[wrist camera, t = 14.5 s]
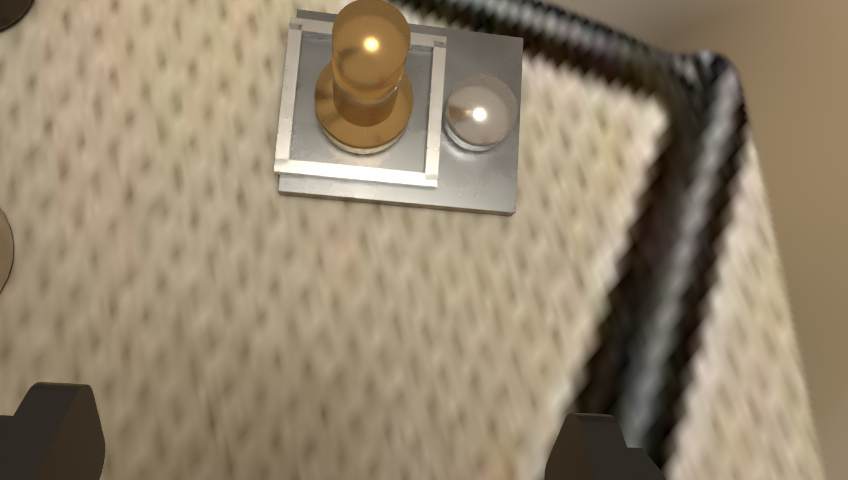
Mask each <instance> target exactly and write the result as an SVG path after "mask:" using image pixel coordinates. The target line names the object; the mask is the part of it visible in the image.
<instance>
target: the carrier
mask: <svg viewBox="0 0 848 480" xmlns="http://www.w3.org/2000/svg"><path fill="white" fill-rule="evenodd" d="M337 15H338V14H330V13H322V12H314V11H306V10H298V9H297V17H296V18H293V17H290V23H289V32H288V42H287V51H286V61H285V70H284V79H283V89H282V98H281V108H280V117H279V126H278V136H277V145H276V154H275V164H274V173H275V174H277V175H280V179H279V189H278V191H279V193H280V195H287V196H298V197H309V198H320V199H330V200H341V201H352V202H363V203H374V204H385V205H395V206H406V207H417V208H428V209H439V210H450V211H461V212H471V213H482V214H493V215H504V216H512V215H513V214H514V213H516V192H517V169H518V146H519V123H520V100H521V77H522V54H523V38H518V37H510V36H502V35H494V34H487V33H479V32H471V31H463V30H455V29H447V28H440V27H432V26H424V25H416V24H408V25H409V28H410V33H411V42H410V47H409V51H408V55H407V59H406V63H405V67H404V72H405V73H406V75H407V76H408V78H409V80H410V83H411V86H412V89H413V109H412V112H411V116H410V119H409V122H408V124H407V127H406V129H405V131H404V133H403V134H402V136H401V137H400V138H399V139H398V140H397V141H396V142H395V143H394V144H393V145H391V146H390V147H388V148H386V149H385V150H382V151H379V152H376V153H371V154H358V153H352V152H349V151H346V150H344V149H342V148H340V147H338V146H337V145H335V144H334V143H333V142H331V141H330V140H329V139H328V138H327V137H326V135H325V134H324V133H323V131H322V129H321V128H320V126H319V123H318V121H317V117H316V110H315V99H314V93H315V86H316V82H317V79H318V77H319V75H320V73H321V71H322V70H323V68H324V67H325V66H326V65H327V64H328V63H329V62H330V61H331V60H332V28H333V24H334V21H335V19H336V17H337Z"/></svg>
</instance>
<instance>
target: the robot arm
mask: <svg viewBox="0 0 848 480" xmlns="http://www.w3.org/2000/svg"><path fill="white" fill-rule="evenodd" d="M12 261H13V240H12V234H11V229H10V227H9V225H8V222H7V220H6V218H5V215H4V214H3V213H2V211H1V210H0V291H1V290H2V288H3V286H4V284H5V282H6V280H7V278H8V275H9V272H10V268H11V265H12ZM104 458H105V440H104V435H103V431H102V427H101V423H100V419H99V415H98V411H97V407H96V403H95V399H94V395H93V391H92V389H91V387H90V386H89V385H85V384H67V383H49V382H38V383H36V384H34V385H33V386H32V387H31V388H30V389H29V391H28V392H27V394H26V395H25V397H24V399H23V401H22V402H21V404H20V406H19V407H18V409H17V411H16V413H15V414H14V416H3V415H0V480H99V479H100V476H101V473H102V469H103V464H104ZM545 480H666V479H665V477H664V475H663V473H662V472H661V471H660V470H659V468H658V467H657V466H656V465H655V463H654V462H653V461H652V460H651V458H650V457H649V456H648V455H647V454H646V452H645V451H644V450H643V449H642V448H627V446H626V443H625V440H624V437H623V434H622V432H621V429H620V426H619V424H618V422H617V420H616V419H615V417H613V416H612V415H602V414H584V413H569V414H568V415H567V417H566V418H565V421H564V423H563V425H562V428H561V430H560V433H559V435H558V437H557V440H556V442H555V444H554V447H553V449H552V451H551V454H550V456H549V459H548V461H547V464H546V469H545Z"/></svg>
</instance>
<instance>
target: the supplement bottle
mask: <svg viewBox="0 0 848 480" xmlns="http://www.w3.org/2000/svg"><path fill="white" fill-rule="evenodd" d="M31 1H32V0H0V30H1V29H3V28H5V27H7V26H9V25H11V24H12V23H14V22H15V21H17V20H18V19H19V18H20V17H21V16H22V15H23V14H24V13H25V11H26V10H27V9H28V7H29V5H30V3H31Z"/></svg>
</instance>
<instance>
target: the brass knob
mask: <svg viewBox="0 0 848 480" xmlns="http://www.w3.org/2000/svg"><path fill="white" fill-rule="evenodd" d="M410 42H411V33H410V28H409V25H408V23H407V21H406V19H405V17H404V16H403V15H402V13H401V12H400V11H399V10H398V9H397V8H395V7H394V6H392V5H391V4H389V3H387V2H385V1H382V0H357V1H354V2H352V3H350V4H348V5H347V6H345V7H344V8H343V9H342V10H341V11H340V12H339V14H338V15H337V17H336V19H335V21H334V24H333V28H332V60H331V61H330V62H329V63H328V64H327V65H326V66H325V67H324V68H323V70H322V71H321V73H320V75H319V77H318V79H317V82H316V86H315V93H314V99H315V110H316V117H317V121H318V123H319V126H320V128H321V129H322V131H323V133H324V134H325V135H326V137H327V138H328V139H329V140H330V141H331V142H333V143H334V144H335V145H337V146H338V147H340V148H342V149H344V150H346V151H349V152H352V153H358V154H371V153H376V152H379V151H382V150H385V149H386V148H388V147H390V146H391V145H393V144H394V143H395V142H396V141H397V140H398V139H399V138H400V137H401V136H402V134H403V133H404V131H405V129H406V127H407V124H408V122H409V119H410V116H411V112H412V109H413V89H412V86H411V83H410V80H409V78H408V76H407V75H406V73H405V72H404V67H405V63H406V59H407V55H408V51H409V47H410Z"/></svg>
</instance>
